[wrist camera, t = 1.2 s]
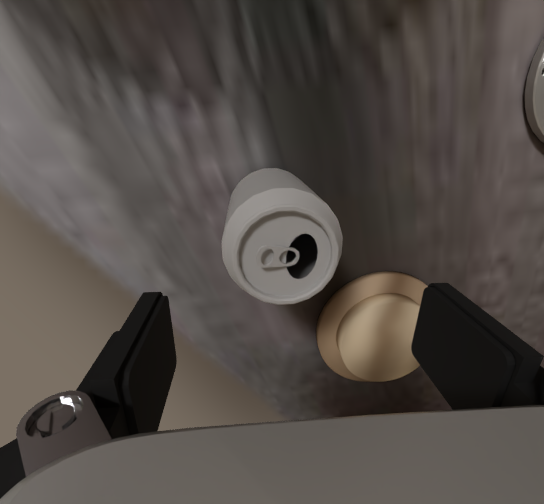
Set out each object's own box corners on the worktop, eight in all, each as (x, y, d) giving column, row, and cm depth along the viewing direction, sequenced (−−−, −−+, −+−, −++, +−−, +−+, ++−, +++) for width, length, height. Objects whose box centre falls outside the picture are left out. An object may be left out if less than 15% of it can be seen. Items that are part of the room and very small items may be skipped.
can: (302, 249, 30) (336, 320, 19) (225, 242, 29) (214, 311, 18) (316, 172, 27) (366, 202, 16) (233, 161, 26) (225, 184, 15)
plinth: (449, 268, 32) (468, 281, 29) (425, 371, 38) (439, 390, 35) (319, 274, 31) (326, 288, 28) (313, 379, 36) (318, 399, 34)
